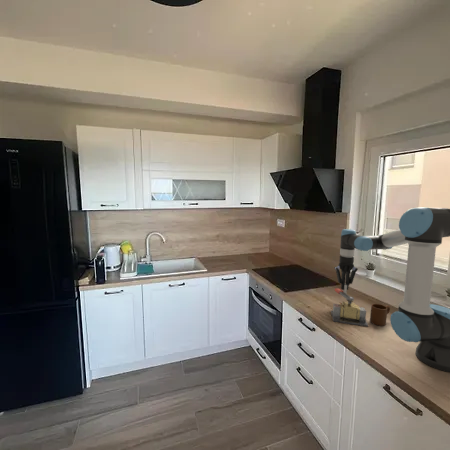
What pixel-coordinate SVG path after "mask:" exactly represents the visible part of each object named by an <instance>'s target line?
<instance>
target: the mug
mask: <svg viewBox="0 0 450 450" xmlns="http://www.w3.org/2000/svg"><path fill="white" fill-rule="evenodd" d="M390 312H391V306H390V305H387V304H386V305H384V304H379V303H372V304H371V308H370V313H369V314H370V315H369V321H370V323H371V324H373V325H374V326H375V325H376V326H378V327H379V326H380V327H383V326H386V325H387V320H388V318H387V317H388V314H389V313H390Z"/></svg>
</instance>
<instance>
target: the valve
mask: <svg viewBox="0 0 450 450" xmlns="http://www.w3.org/2000/svg"><path fill="white" fill-rule="evenodd" d="M332 306H333V307H332V310H330V314H331V318H332V321H333V322H334V323H342V324H347V325H352V326H353V325H354V326H361V327H365V328H366V327H369V324H368V322H367V318H366V316H367V310H366V309H365V307H362V306H361V307H360V306H359V305H358V304H356V303H355V302H349V301H342V302H339V303H333V305H332Z"/></svg>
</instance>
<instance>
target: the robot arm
mask: <svg viewBox="0 0 450 450" xmlns="http://www.w3.org/2000/svg"><path fill="white" fill-rule="evenodd" d="M356 233H357V232H356V230H355V229H350V228H343V229H342V230H341V233H340V248H339V249H340V250H339V255H340V256H339V263H338V265H337V266H334V270H335V272H336V277H337V282H338V283H339V284H340V285H341V286H340V289H341V290H342V291H343V292H344V293H346V294H347V293H348V292H347V291H348V290H349V286H350V285H353V283H354V279H355V276H356V272H357V271H358V269H359V268H357V267H356V266H355V264H354V261H355V257H354V256H355V250H358V251H363V252H368V251H370V250H383V251H385V250H390V249H392V248H394V247H398V246H401V245H405V244H406V245H407V244H408V247H407V249H408V250H407V261H406V269H405V272H406V273H405V280H404V281H405V283H404V290H403V291H404V292H403V301H401V302H399V303H398V308H397V311H394V312H392V313H391V315H390V325H391V327H392V330H393V331H394V333H395V334H396V335H397V337H398V338H399V339H401V340H403V341H404V342H408V343H412V342H413V343H418V345H417V346H416V347H415V348H416V349H415V356H416V357H417V359H419V360H420V361H421V362H423V363H424V364H425V365H428V366H430V367H431V368H434V369H436V370H439V371H443V372H447V373H450V308H448V307H447V306H442V305H438V304H432V303H431V298H432V290H433V289H432V287H433V278H434V271H435V270H434V269H435V259H436V249H437V248H438V247H439V246H440V245H442V243H443V238H449V237H450V208H449V207H424V206H422V207H412V208H409V209H408V210H406V211H405V212H403V214H402V215H401V217H400V218H399V221H398V229H397V230H396V229H395V230H392V231H390V232H386V233H383V234H379V235H360V234H356ZM347 295H348V294H347Z"/></svg>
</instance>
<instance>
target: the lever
mask: <svg viewBox="0 0 450 450" xmlns="http://www.w3.org/2000/svg"><path fill="white" fill-rule="evenodd" d="M334 291H335V292H336V293H337V294H338V295H340V296H341V297H343V298H344V299H346V302H348V301H349V302H352V303H355V302H354V300H355V298H354V296H350V295H349V294H346V293H344V292H343V291H342V289H341V288H334Z"/></svg>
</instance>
